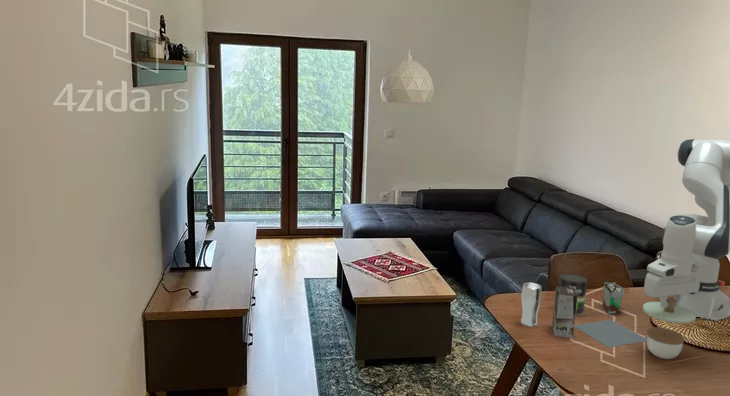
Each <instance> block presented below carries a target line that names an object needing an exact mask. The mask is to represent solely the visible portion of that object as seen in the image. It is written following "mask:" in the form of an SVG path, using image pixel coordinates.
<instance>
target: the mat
mask: <svg viewBox="0 0 730 396" xmlns="http://www.w3.org/2000/svg"><path fill="white" fill-rule="evenodd" d="M574 328H575V329H577V330H579V331H581V332H582V333H584V334H586V335H587V336H589V337H590V338H592V339H594V340H595V341H597V342H598V343H600V344H602V345H604V346H605V347H606V348H609V349H610V348H615V347H621V346H627V345H632V344H633V345H634V344H638V343H639V344H640V343H644V342H647V337H644V336H642V335H640V334H638V333H636V332H634V331H633V330H631V329H629V328H627V327H625V326H623V325H622V324H619V322H616V321H614V320H613V319H607V320H599V321H591V322H586V323H580V324H579V323H578V324H574Z"/></svg>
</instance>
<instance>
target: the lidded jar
mask: <svg viewBox="0 0 730 396" xmlns="http://www.w3.org/2000/svg"><path fill="white" fill-rule="evenodd" d="M646 330H647V331H646V339H647V341H646V346H647V348H648V351H650V352H651V354H652V355H653V356H655V357H657V358H659V359H664V360H672V359H674V358H677V357H678V356H679V355H680V353H681V352H682V349H683V345H684V342H685V337H684V336H683V334H681V333H680V332H678V331H675V330H674V329H673V330H672V329H670V328H665V327H658V326H656V327H649V328H648V329H646Z"/></svg>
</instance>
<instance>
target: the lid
mask: <svg viewBox="0 0 730 396" xmlns="http://www.w3.org/2000/svg"><path fill="white" fill-rule="evenodd" d="M666 301H667V302H668V303H669V305H668V306H669V307H668V308H662V307H661V301H649V302H645V303H644V304H643V305H642V311H643V312H644V313H645V314H646V315H648V316H649V317H652V318H653V319H657V320H659V321H664V322H666V323H667V322H668V323H673V324H690V323H694V322H695V320H696V315H695V314H694V313H693V312H692V311H690V310H689V309H687V308H684V307H682V306H677V307H675V303H676V300H675V299H674V297H668V298H667V299H666Z"/></svg>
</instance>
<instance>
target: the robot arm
mask: <svg viewBox="0 0 730 396" xmlns="http://www.w3.org/2000/svg"><path fill="white" fill-rule="evenodd" d="M676 154H677V155H676V156H677V160H678V161H677V162H678V163H679V164H680V165H681V166H683V167H684V169H683V171H682V179H681V180H682V184H683V186H684V188H685V189H686V190H687V191H688V192H689V193H690V194H692V195H694V201H695V203H696V205H697V206H698V207H699V208H701V209H702V210H704V211H705V214H706V215H707V216H706V215H701V214H695V213H681V214H678V215H673V216H670V217H669V218H668V221H667V223H666V225H665V227H664V228H663V232H662V239H661V241H662V245H663V248H662V251H661V253H660V254H661V255H660V258H657V259H656V260H655V261H653V262H651V263H649V264H648V265H647V267H646V270H647V273H646V275H645V279H644V286H643V293H644V294H645V295H646V296H648V297H650V298H652V299H653V298H655V299H656V298H658V299H659V300H660V301H659V302H661V307H662V308H668V307H669V306H668V305H669V303H668V302H667V301H666V299H667V298H669V297H670V296H674V297H673V299H675V300H676V303H675V307H677V306H682V307H684V308H687V309H689V310H690V311H692V312H693V313H694V314H695V315H696V316H697V317H701V318H700V319H703V318H706V319H705V320H709V319H710V320H709V321H713V320H714V322H719V321H721V319H722V320H724V319H727V318H729V317H730V298H729V297H728V295H726V294H725V293H724V292H722V290H721V289H720V286H721V287H725V285H726V281H723V280H721V279H718V278H719V273H720V266H721V265H720V260H719V259H722V258H724V257H726V256H727V255H729V253H730V139H728V140H727V139H722V138H721V139H720V138H714V139H711V138H709V139H708V138H707V139H694V138H691V139H685V140H684V141H682V142H681V143H680V145H679V146H678V150H677V153H676Z"/></svg>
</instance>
